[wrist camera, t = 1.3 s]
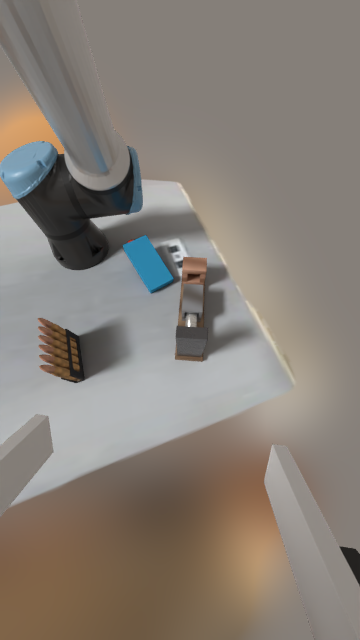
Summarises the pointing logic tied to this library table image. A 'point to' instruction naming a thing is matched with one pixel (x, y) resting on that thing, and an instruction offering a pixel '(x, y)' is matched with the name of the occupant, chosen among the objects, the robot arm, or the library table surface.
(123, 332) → the library table surface
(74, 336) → the ammunition clip
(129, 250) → the blue block
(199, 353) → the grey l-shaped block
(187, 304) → the wooden bar with block
